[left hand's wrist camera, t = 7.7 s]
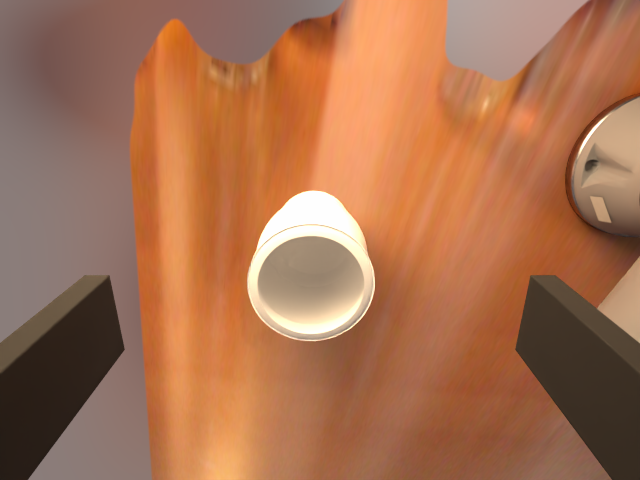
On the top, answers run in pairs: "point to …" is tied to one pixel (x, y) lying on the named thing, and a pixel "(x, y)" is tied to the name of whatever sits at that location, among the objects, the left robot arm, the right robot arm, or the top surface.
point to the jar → (311, 270)
